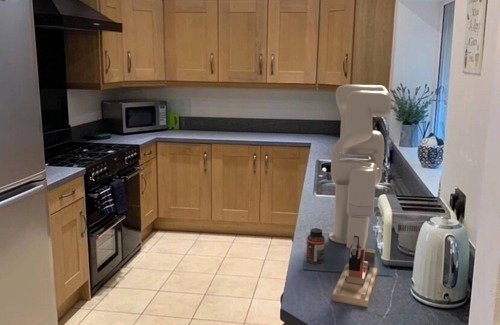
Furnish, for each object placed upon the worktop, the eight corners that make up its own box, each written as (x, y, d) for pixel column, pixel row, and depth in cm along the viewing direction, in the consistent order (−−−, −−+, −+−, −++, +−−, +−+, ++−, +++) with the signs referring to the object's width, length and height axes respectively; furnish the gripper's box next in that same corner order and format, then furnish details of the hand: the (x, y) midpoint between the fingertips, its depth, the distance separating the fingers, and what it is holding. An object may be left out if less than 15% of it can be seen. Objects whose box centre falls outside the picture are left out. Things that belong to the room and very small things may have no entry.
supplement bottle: (303, 259, 169) (304, 227, 167) (318, 257, 171) (319, 226, 169) (311, 265, 164) (312, 233, 162) (326, 263, 166) (328, 231, 164)
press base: (346, 268, 162) (347, 245, 160) (377, 273, 159) (378, 250, 157) (331, 300, 140) (333, 274, 138) (367, 307, 137) (369, 280, 135)
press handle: (350, 271, 154) (353, 235, 152) (366, 274, 153) (369, 237, 150) (346, 281, 147) (348, 244, 144) (363, 284, 145) (366, 246, 143)
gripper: (352, 200, 152) (348, 252, 156) (342, 215, 136) (338, 273, 140) (376, 202, 150) (373, 255, 153) (369, 219, 134) (365, 277, 137)
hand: (356, 264), depth 146 cm, fingers open, 9 cm apart
